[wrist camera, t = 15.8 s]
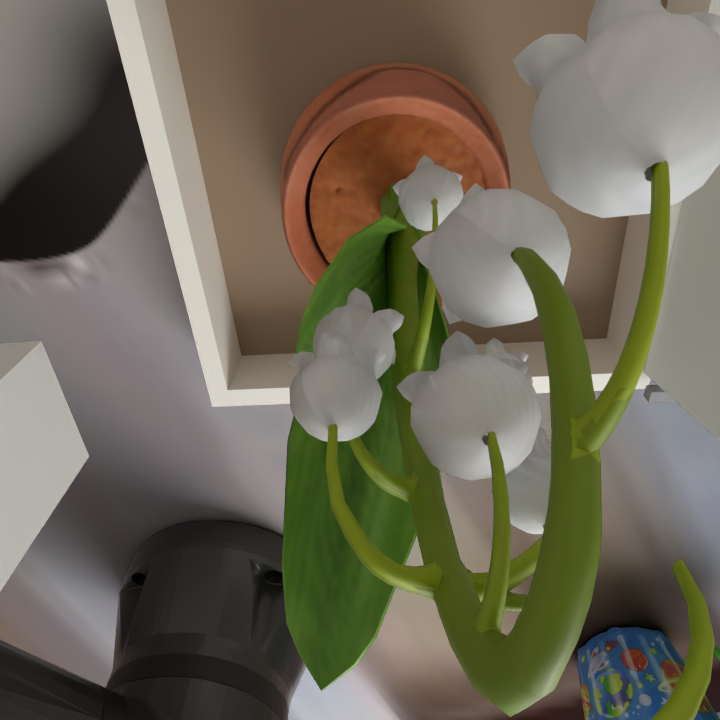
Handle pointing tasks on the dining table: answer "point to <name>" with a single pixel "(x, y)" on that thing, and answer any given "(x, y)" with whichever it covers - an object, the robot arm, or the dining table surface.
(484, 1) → the white open hinged box
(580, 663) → the snack cup
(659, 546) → the dining table surface
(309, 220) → the potted flower
